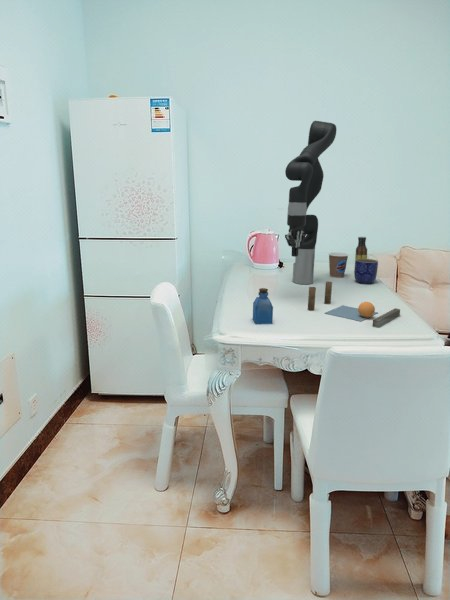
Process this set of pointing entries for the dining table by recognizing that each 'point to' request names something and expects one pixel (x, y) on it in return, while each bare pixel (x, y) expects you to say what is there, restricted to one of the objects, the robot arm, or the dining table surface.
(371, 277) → the planter
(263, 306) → the perfume bottle
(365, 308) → the ball
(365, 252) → the sauce bottle
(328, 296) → the post
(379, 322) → the wall
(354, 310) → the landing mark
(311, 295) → the post
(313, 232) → the robot arm
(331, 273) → the coffee cup
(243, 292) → the dining table surface
